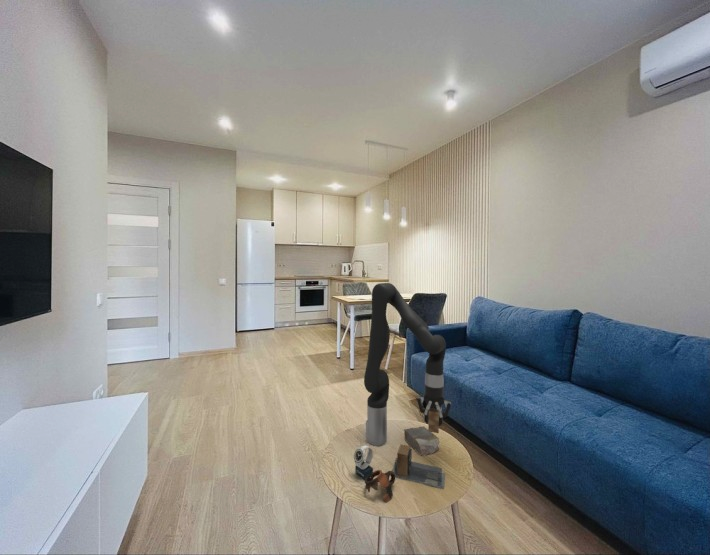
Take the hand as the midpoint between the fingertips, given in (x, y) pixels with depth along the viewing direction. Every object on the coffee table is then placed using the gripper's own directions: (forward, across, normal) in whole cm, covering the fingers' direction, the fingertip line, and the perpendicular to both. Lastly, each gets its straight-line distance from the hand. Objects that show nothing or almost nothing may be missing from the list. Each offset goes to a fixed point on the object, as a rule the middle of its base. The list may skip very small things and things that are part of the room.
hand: (433, 423), depth 124 cm
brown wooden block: (+2, 0, 0) cm, 2 cm away
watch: (+17, -25, -17) cm, 35 cm away
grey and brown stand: (+17, -5, -10) cm, 20 cm away
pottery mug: (+17, -16, -24) cm, 33 cm away
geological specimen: (+17, -6, +12) cm, 22 cm away
